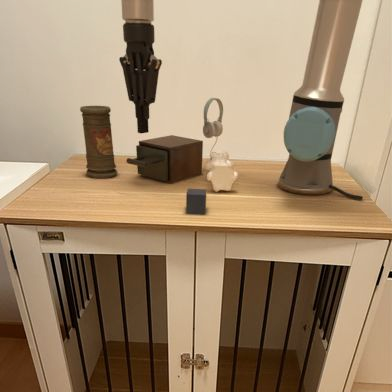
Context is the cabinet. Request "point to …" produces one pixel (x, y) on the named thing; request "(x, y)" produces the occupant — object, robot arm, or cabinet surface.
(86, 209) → the cabinet surface
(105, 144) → the container
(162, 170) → the drawer
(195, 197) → the block
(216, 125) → the headphones
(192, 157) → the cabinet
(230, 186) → the white rounded figure
